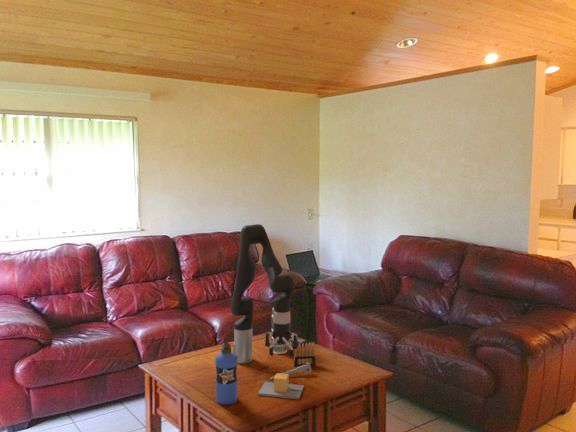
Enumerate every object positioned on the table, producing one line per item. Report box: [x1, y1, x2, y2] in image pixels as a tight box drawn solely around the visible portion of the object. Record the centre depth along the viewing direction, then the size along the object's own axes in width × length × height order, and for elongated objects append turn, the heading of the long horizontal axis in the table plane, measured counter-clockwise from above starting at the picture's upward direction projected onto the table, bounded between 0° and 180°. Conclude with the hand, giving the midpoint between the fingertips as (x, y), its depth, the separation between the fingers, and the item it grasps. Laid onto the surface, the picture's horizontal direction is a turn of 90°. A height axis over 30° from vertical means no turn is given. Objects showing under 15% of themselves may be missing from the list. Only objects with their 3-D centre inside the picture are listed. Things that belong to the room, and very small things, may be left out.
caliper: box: [270, 362, 312, 380], centre depth 236 cm, size 20×1×6 cm, turn 108°
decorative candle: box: [270, 306, 288, 355], centre depth 269 cm, size 9×9×25 cm
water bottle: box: [214, 341, 238, 406], centre depth 211 cm, size 9×9×25 cm
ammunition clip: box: [293, 341, 316, 368], centre depth 249 cm, size 11×2×12 cm, turn 98°
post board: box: [257, 381, 305, 400], centre depth 220 cm, size 18×12×6 cm, turn 78°
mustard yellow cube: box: [273, 372, 290, 392], centre depth 220 cm, size 6×6×6 cm
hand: (281, 356), depth 219 cm, fingers open, 8 cm apart
